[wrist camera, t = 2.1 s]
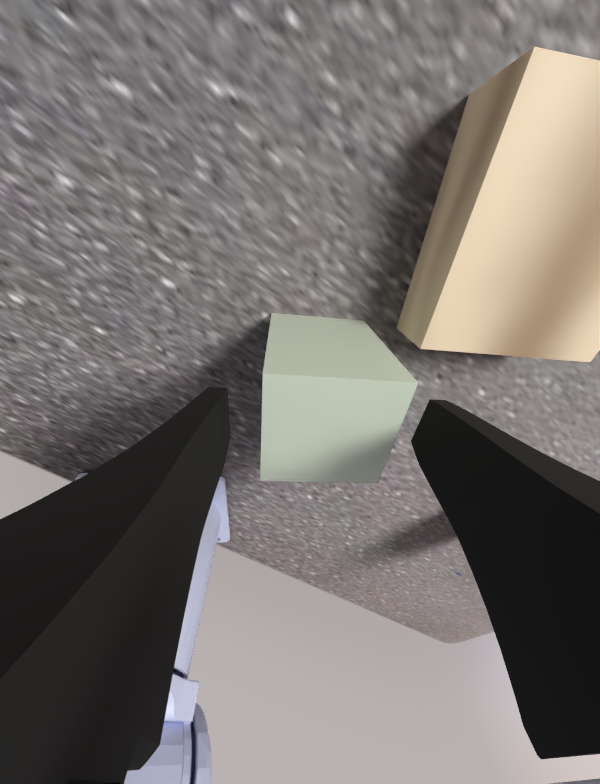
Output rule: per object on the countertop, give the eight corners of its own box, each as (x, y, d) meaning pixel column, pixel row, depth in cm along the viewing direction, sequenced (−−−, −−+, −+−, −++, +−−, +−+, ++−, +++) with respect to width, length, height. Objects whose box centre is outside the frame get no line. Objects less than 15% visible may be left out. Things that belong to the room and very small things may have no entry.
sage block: (268, 392, 14) (260, 481, 9) (271, 312, 12) (262, 373, 7) (346, 396, 15) (378, 483, 10) (363, 320, 12) (418, 382, 7)
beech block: (393, 325, 13) (420, 348, 11) (462, 99, 9) (534, 46, 6) (534, 338, 14) (590, 362, 11) (658, 136, 10) (793, 102, 7)
